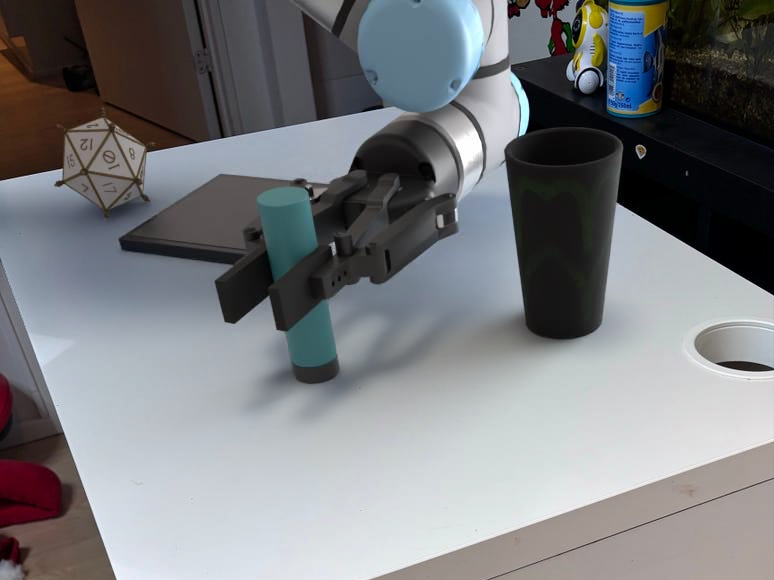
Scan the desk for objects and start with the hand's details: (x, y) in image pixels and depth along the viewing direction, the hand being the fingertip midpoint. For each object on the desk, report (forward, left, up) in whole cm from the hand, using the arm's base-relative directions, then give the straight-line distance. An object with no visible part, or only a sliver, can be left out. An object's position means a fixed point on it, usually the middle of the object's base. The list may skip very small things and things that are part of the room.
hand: (251, 306), depth 62 cm
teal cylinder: (0, +6, -7) cm, 9 cm away
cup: (+14, +17, -7) cm, 24 cm away
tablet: (-20, +27, -7) cm, 35 cm away
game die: (-34, +27, -7) cm, 44 cm away
